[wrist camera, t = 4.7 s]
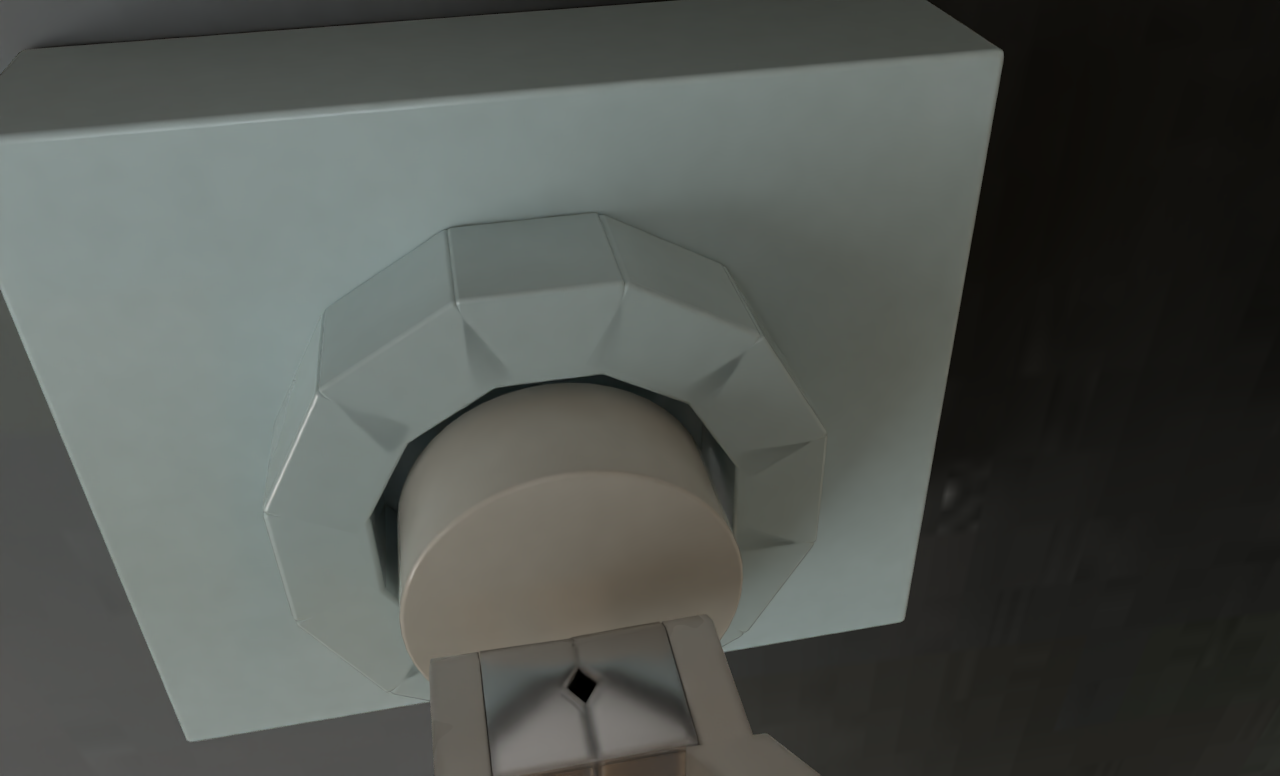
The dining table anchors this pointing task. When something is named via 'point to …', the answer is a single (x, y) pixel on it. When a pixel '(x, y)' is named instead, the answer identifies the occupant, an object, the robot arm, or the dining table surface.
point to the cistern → (486, 298)
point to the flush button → (559, 524)
